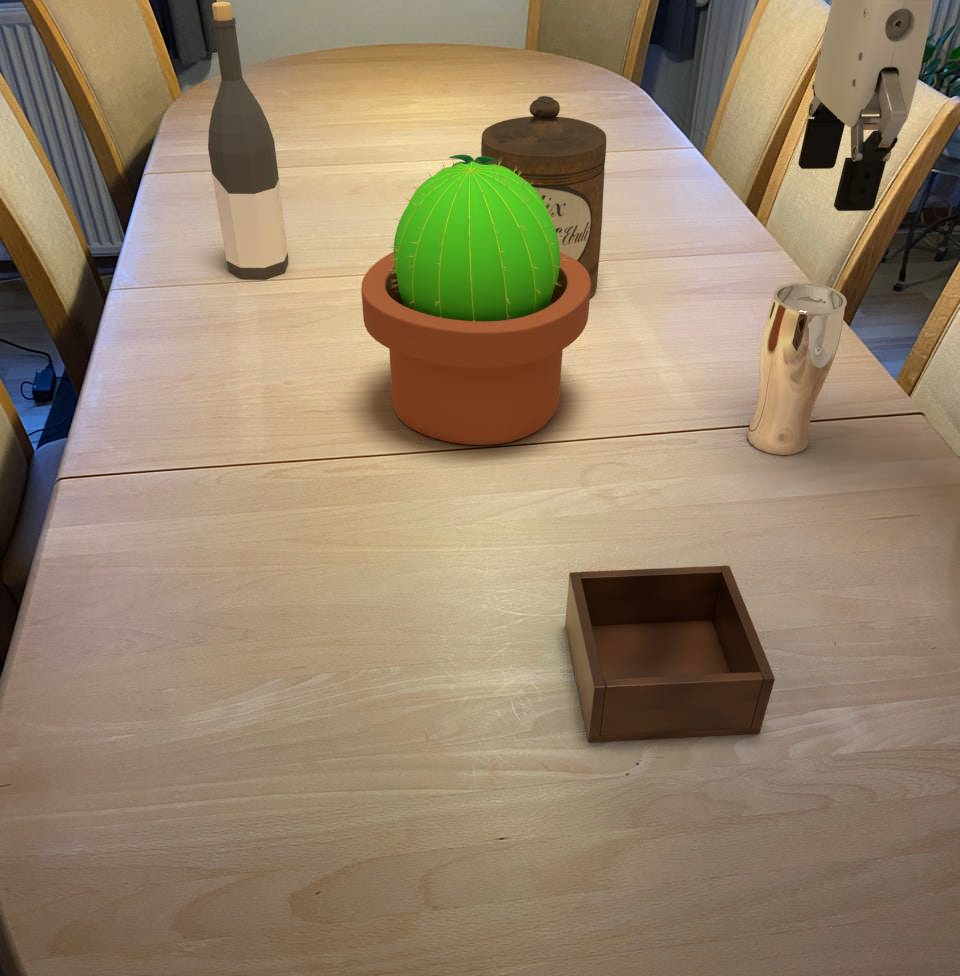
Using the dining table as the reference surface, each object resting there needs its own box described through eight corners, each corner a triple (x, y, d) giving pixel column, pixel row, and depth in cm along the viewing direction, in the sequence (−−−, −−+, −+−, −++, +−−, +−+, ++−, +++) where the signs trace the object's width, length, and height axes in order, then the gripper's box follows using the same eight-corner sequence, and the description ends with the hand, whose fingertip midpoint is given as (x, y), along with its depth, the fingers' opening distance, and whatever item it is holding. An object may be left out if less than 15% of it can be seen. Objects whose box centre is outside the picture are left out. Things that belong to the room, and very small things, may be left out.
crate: (717, 618, 84) (729, 565, 80) (760, 733, 75) (775, 678, 71) (564, 625, 83) (569, 571, 79) (588, 742, 74) (594, 687, 70)
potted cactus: (531, 481, 98) (544, 216, 81) (333, 429, 105) (307, 175, 88) (608, 380, 113) (632, 137, 96) (430, 340, 120) (424, 107, 103)
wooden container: (467, 304, 127) (466, 111, 112) (495, 257, 137) (497, 75, 123) (586, 317, 124) (601, 122, 109) (604, 268, 135) (621, 84, 120)
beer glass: (794, 466, 101) (830, 321, 90) (730, 442, 104) (758, 300, 93) (823, 436, 105) (861, 294, 94) (761, 414, 108) (791, 275, 98)
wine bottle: (296, 275, 133) (265, 8, 113) (234, 284, 131) (191, 14, 111) (281, 251, 139) (249, -7, 118) (222, 260, 136) (178, -2, 116)
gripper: (991, -26, 70) (914, 227, 82) (897, -72, 82) (843, 153, 94) (884, -26, 69) (822, 228, 81) (806, -72, 82) (762, 153, 94)
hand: (833, 187), depth 88 cm, fingers open, 9 cm apart
